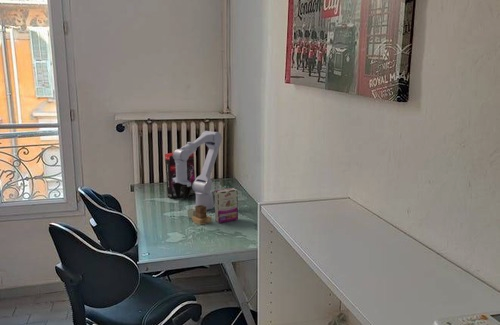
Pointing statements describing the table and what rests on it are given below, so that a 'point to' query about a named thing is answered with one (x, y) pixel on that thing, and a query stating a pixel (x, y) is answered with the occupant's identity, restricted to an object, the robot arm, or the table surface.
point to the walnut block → (200, 211)
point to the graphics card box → (172, 174)
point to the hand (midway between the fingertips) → (182, 197)
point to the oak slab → (201, 220)
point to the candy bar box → (226, 205)
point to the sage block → (191, 213)
